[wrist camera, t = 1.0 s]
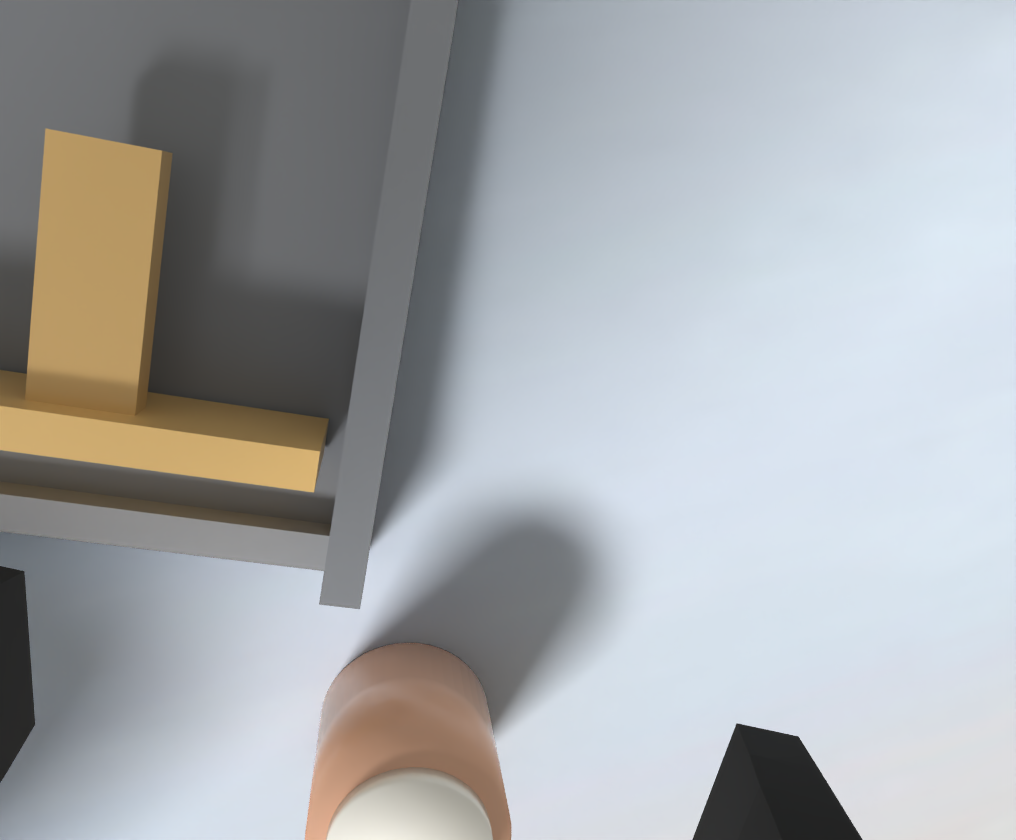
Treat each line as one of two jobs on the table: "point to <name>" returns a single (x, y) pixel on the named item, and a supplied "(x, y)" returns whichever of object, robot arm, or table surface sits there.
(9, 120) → the lane
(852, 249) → the table surface
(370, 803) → the jar
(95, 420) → the pusher
